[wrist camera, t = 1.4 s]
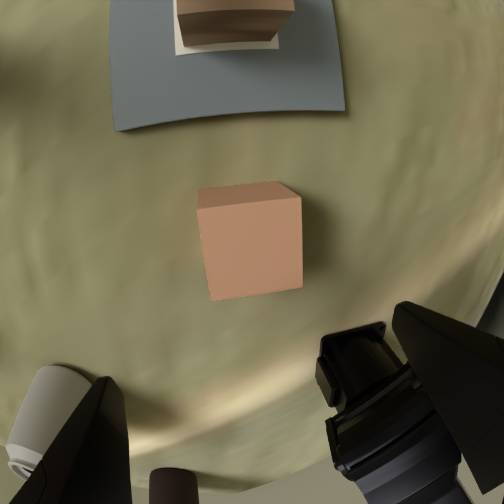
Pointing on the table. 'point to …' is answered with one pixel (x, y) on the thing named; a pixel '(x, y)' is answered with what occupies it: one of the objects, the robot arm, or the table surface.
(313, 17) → the grey square plate
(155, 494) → the wine bottle
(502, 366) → the robot arm
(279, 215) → the terracotta block
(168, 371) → the table surface
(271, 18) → the walnut base block
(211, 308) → the table surface
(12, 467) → the can
